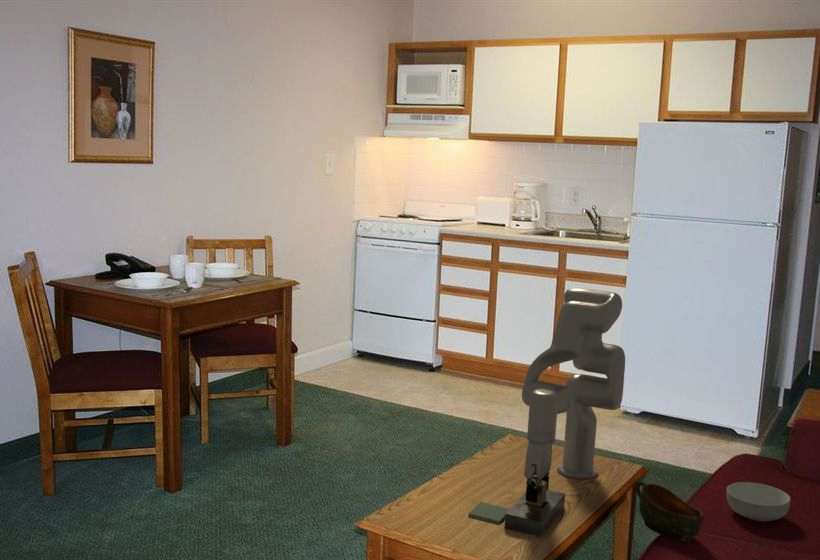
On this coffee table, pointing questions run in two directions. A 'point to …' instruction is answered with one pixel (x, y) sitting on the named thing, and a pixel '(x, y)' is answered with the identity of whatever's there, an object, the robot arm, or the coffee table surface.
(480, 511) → the green mat
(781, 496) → the cereal bowl
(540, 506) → the brass plug
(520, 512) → the dark square-hole plate
